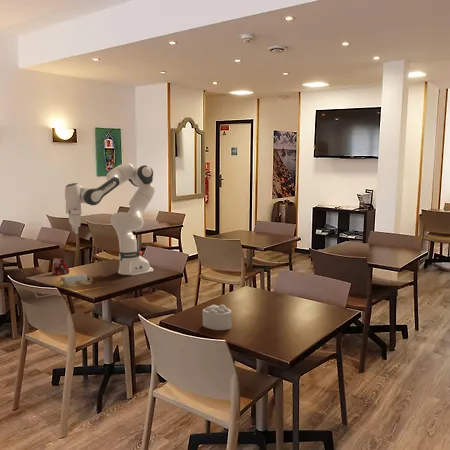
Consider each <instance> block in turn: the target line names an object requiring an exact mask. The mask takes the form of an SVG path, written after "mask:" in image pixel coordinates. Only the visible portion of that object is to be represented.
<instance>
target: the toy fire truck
mask: <svg viewBox="0 0 450 450" xmlns="http://www.w3.org/2000/svg"><path fill="white" fill-rule="evenodd" d="M52 261H53V268H52V269H51V274H52V275H53V276H56V275H57V276H60V275H61V276H62V275H63V274H65V275H69V274H70V269H69V267H68V264H67V262H66V261H65V259H64V258H58V257H53V260H52Z"/></svg>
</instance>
